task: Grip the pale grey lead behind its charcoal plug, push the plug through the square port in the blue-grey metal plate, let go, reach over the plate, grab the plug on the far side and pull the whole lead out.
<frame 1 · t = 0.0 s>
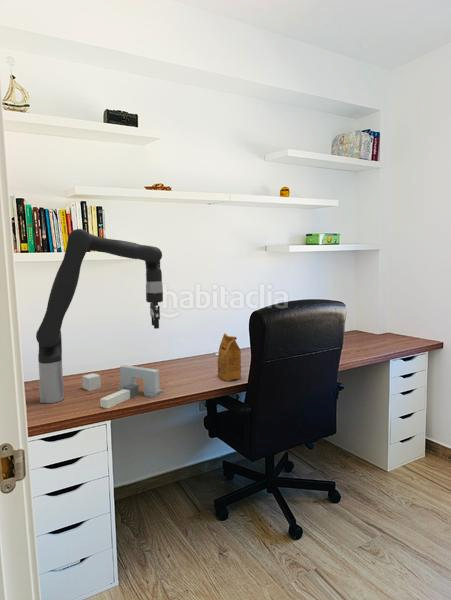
hand: (155, 326, 191), 29 cm above the table, tool pointing down, fingers open, 8 cm apart
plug: (120, 400, 179), on the table
coffee package: (228, 378, 211), on the table
white cube: (91, 388, 197), on the table
port plate: (139, 391, 191), on the table
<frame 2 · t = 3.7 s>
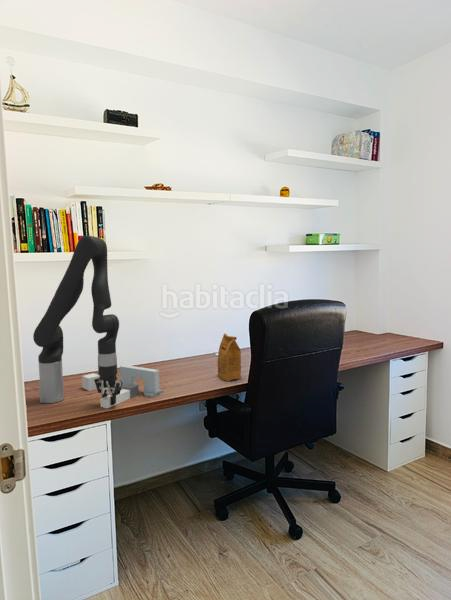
hand: (109, 403, 174), 1 cm above the table, tool pointing down, fingers closed on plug, 3 cm apart
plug: (120, 400, 179), on the table, touching gripper
everything else where it was.
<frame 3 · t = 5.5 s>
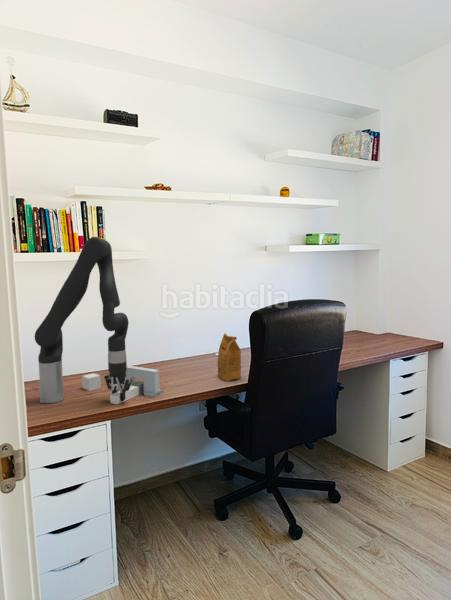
hand: (118, 399, 178), 1 cm above the table, tool pointing down, fingers closed on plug, 3 cm apart
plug: (129, 396, 184), on the table, touching gripper
everything else where it was.
when the fingers open (1 cm above the table, at t = 7.4 s): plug stays where it is, on the table.
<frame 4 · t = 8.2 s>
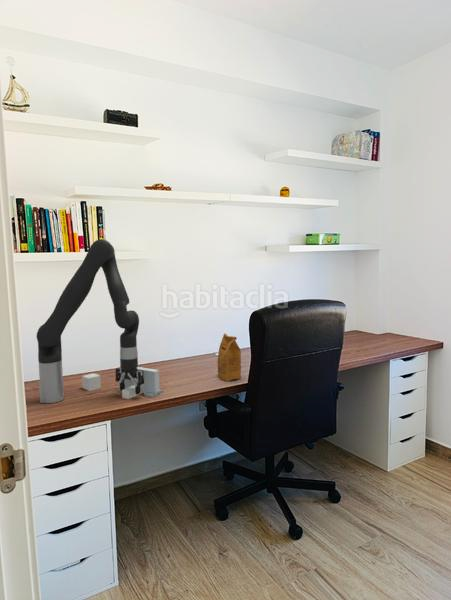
hand: (130, 392, 185), 2 cm above the table, tool pointing down, fingers open, 8 cm apart
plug: (139, 392, 191), on the table
everything else where it was.
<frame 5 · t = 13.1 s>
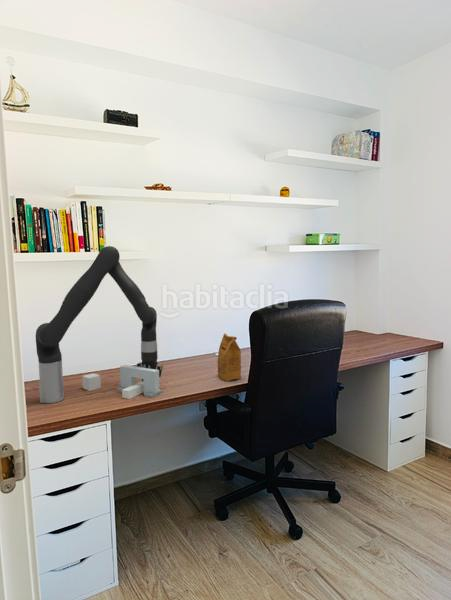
hand: (150, 385, 197), 1 cm above the table, tool pointing down, fingers closed on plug, 4 cm apart
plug: (139, 392, 191), on the table, touching gripper
everything else where it was.
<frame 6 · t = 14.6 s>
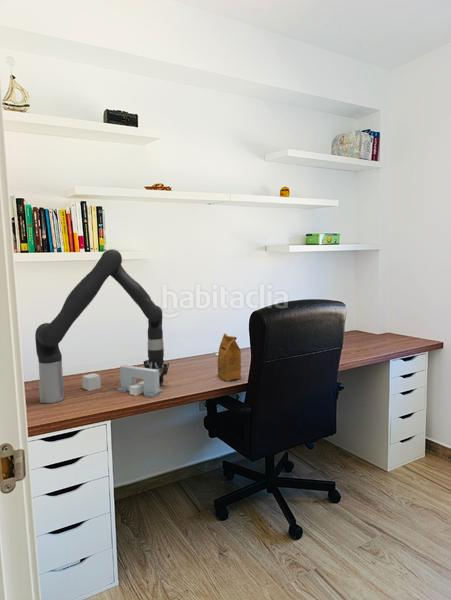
hand: (156, 382, 201), 1 cm above the table, tool pointing down, fingers closed on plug, 4 cm apart
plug: (146, 389, 195), on the table, touching gripper
everything else where it was.
when the fingers open (1 cm above the table, at t = 16.6 s): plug stays where it is, on the table.
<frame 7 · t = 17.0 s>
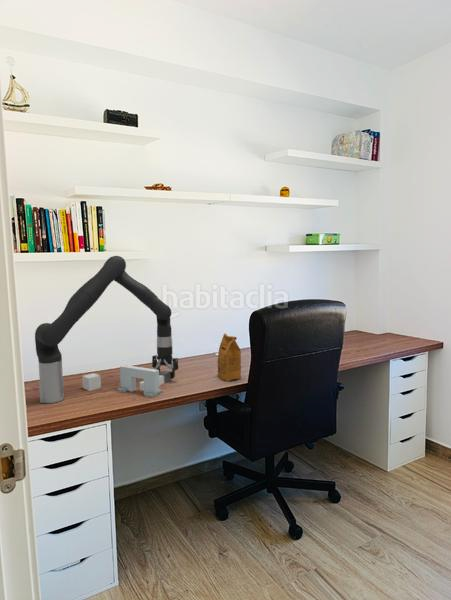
hand: (165, 377, 208), 2 cm above the table, tool pointing down, fingers open, 8 cm apart
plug: (155, 385, 201), on the table
everything else where it was.
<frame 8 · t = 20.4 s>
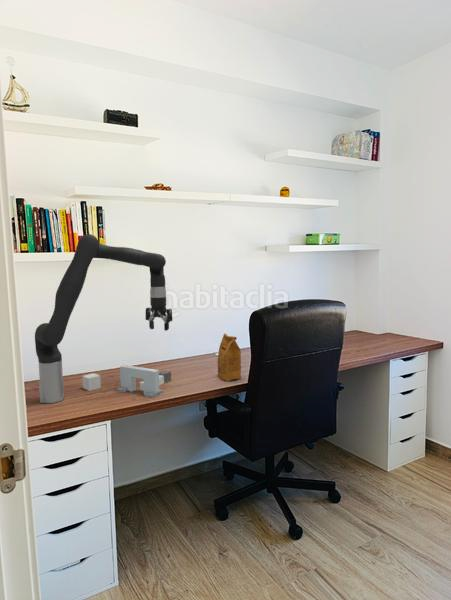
hand: (159, 329, 201), 26 cm above the table, tool pointing down, fingers open, 8 cm apart
nothing on the table moved.
at the end: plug inside the target area on the table beside the port plate (4.0 cm from its centre), on the table; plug touching table; the gripper is holding nothing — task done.
